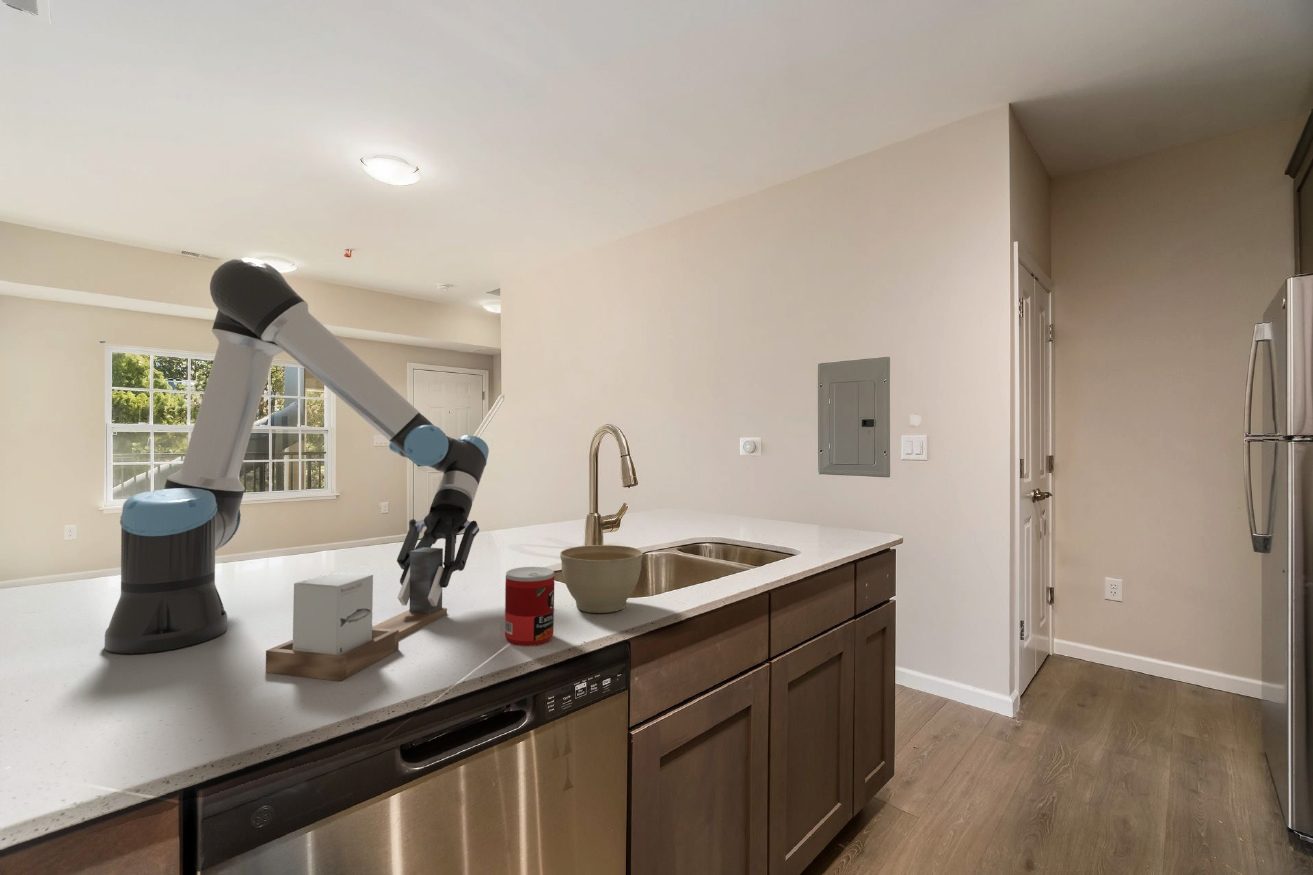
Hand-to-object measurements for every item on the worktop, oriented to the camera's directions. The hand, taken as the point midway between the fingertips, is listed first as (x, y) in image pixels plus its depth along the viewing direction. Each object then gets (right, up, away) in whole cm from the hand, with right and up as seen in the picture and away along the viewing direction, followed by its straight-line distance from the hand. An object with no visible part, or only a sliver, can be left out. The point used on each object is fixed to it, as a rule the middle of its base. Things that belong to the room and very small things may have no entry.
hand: (417, 601), depth 103 cm
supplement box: (-4, -4, -19) cm, 20 cm away
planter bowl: (+31, -4, +11) cm, 34 cm away
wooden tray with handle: (-3, -4, -9) cm, 10 cm away
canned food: (+21, -4, -7) cm, 23 cm away
